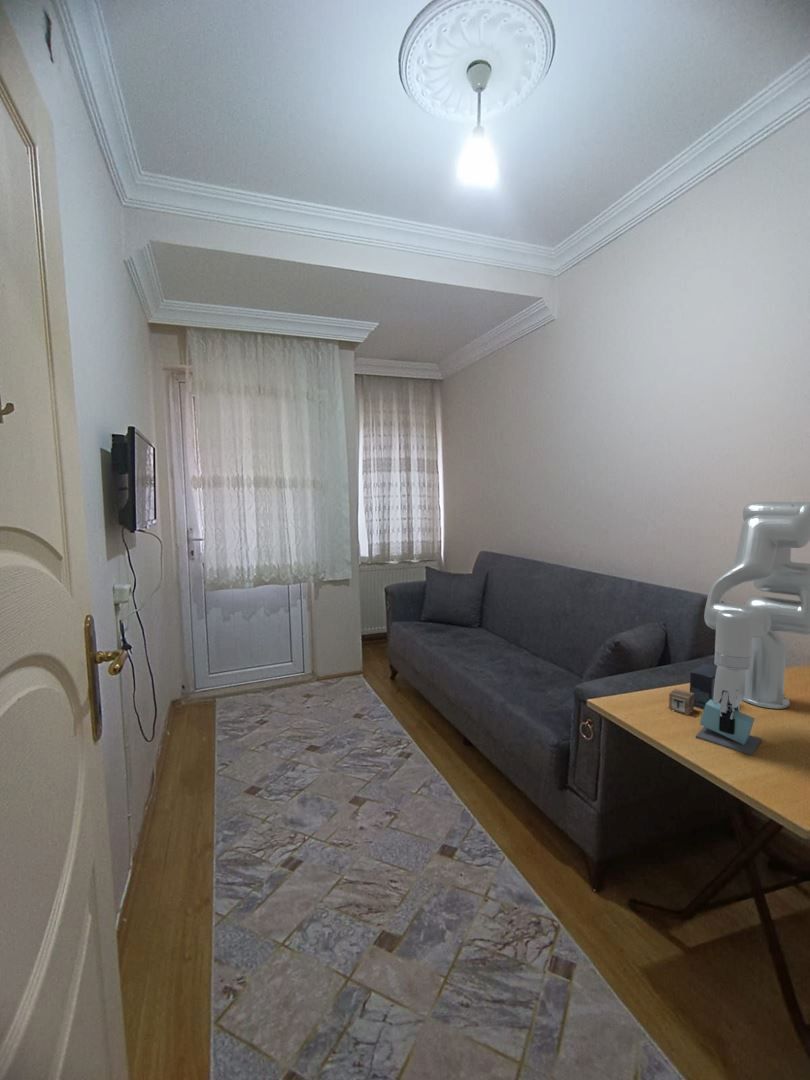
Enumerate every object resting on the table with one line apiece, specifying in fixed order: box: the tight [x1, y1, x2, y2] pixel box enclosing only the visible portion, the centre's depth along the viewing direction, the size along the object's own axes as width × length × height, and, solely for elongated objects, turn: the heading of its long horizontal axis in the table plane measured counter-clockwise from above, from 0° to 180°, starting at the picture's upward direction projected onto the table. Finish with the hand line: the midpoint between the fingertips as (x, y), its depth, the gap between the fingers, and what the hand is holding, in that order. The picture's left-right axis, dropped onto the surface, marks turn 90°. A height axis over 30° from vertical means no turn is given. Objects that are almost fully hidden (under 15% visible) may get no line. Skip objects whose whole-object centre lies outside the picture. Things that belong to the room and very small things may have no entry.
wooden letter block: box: [668, 688, 695, 716], centre depth 139 cm, size 6×5×5 cm
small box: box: [689, 663, 721, 710], centre depth 143 cm, size 11×6×10 cm, turn 126°
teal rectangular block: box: [699, 699, 756, 745], centre depth 122 cm, size 4×10×6 cm, turn 43°
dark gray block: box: [695, 726, 762, 756], centre depth 122 cm, size 10×12×1 cm
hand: (728, 728), depth 122 cm, fingers closed on teal rectangular block, 3 cm apart
